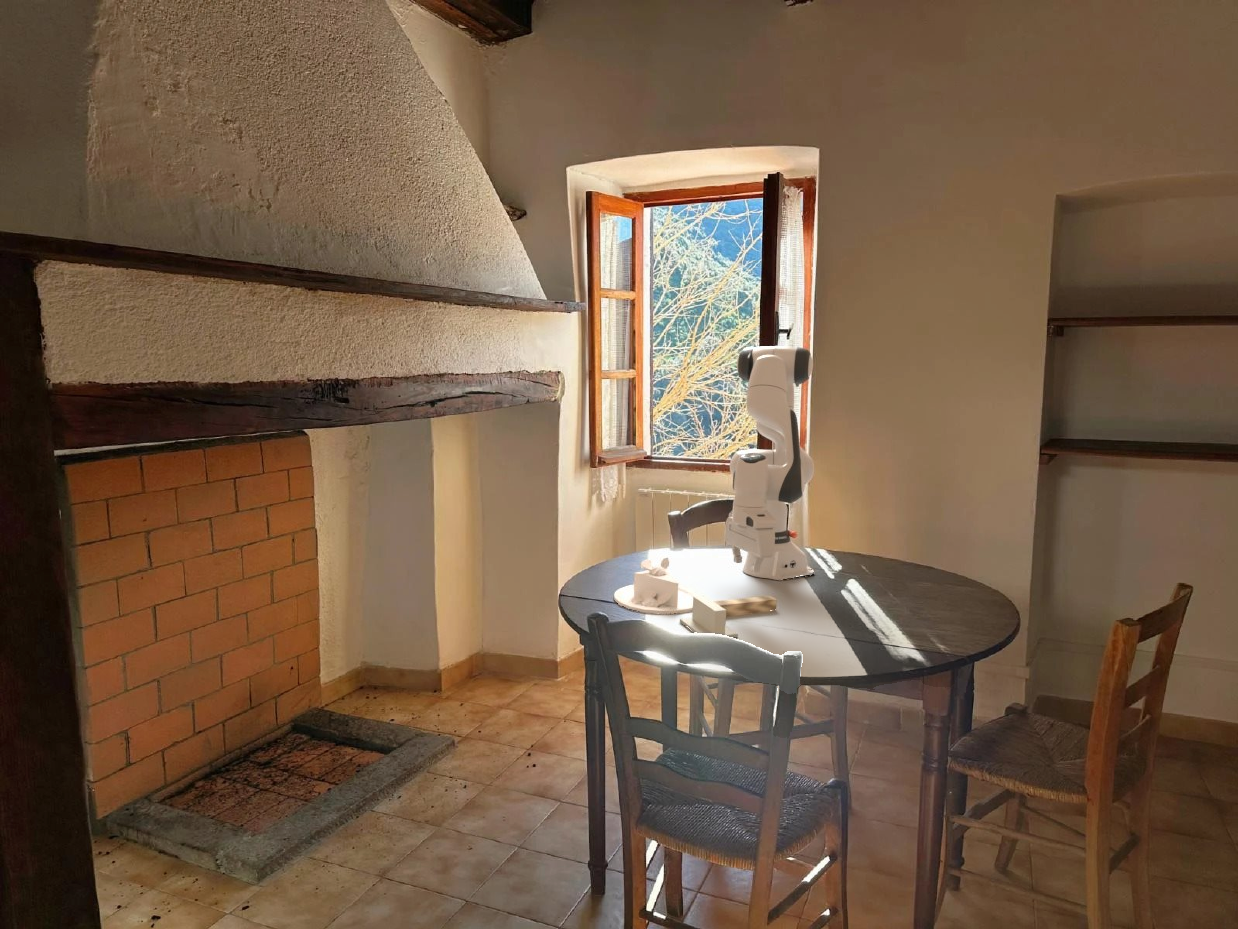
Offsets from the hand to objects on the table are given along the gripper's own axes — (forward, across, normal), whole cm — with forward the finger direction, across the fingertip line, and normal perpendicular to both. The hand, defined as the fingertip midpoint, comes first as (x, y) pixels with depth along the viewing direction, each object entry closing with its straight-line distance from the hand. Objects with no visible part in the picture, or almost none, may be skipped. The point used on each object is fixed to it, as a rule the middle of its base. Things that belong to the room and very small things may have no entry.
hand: (746, 566), depth 219 cm
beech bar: (+13, -1, 0) cm, 13 cm away
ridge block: (+13, +9, -16) cm, 22 cm away
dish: (+13, -17, -18) cm, 27 cm away
